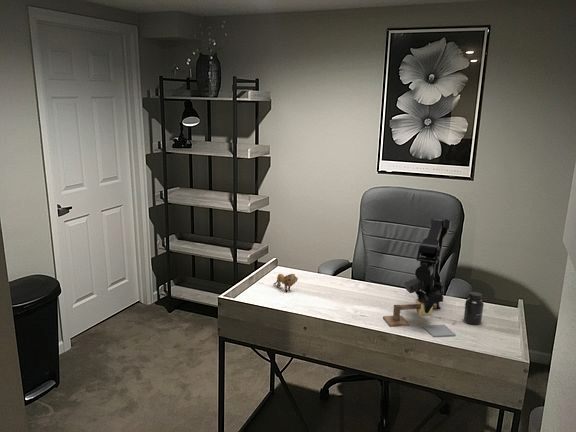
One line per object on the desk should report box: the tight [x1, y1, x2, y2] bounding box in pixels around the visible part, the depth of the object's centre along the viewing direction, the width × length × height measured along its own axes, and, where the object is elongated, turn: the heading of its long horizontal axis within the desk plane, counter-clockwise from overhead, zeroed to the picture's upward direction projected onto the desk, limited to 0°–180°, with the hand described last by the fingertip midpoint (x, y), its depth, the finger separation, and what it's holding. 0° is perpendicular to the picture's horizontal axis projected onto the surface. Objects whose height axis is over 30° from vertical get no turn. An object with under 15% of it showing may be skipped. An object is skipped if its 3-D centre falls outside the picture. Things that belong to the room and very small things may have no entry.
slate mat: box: [422, 324, 457, 338], centre depth 184 cm, size 9×9×1 cm
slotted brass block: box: [414, 298, 434, 317], centre depth 192 cm, size 5×5×6 cm
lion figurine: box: [273, 273, 299, 292], centre depth 224 cm, size 15×5×9 cm, turn 45°
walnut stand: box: [382, 303, 437, 328], centre depth 192 cm, size 20×8×7 cm, turn 99°
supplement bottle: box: [463, 291, 485, 326], centre depth 193 cm, size 7×7×12 cm
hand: (423, 310), depth 193 cm, fingers closed on slotted brass block, 5 cm apart
